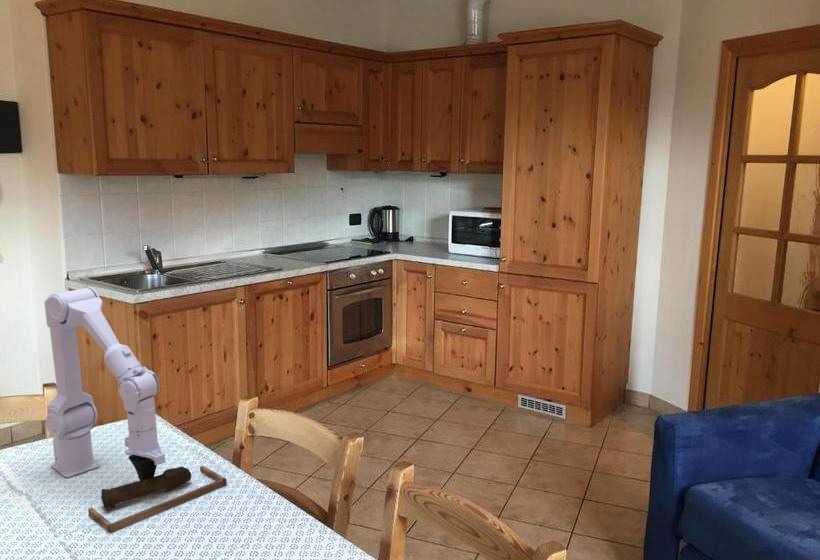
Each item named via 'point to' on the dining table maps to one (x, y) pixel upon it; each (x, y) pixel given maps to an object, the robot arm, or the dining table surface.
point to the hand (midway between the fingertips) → (147, 484)
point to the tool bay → (161, 507)
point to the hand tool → (146, 486)
